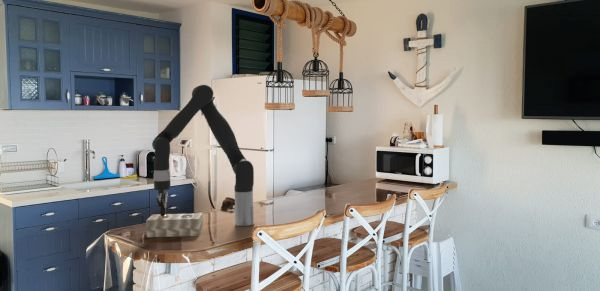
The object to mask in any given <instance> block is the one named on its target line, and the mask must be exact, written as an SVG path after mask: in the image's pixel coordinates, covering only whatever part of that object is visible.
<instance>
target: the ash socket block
mask: <svg viewBox="0 0 600 291" xmlns="http://www.w3.org/2000/svg"><path fill="white" fill-rule="evenodd" d="M166 214H167V215H168V218H159V215H160V214H159V213H158V214H151V216H149V217H148V218H147V219H146V221H145V222H146V224H145V226H146V227H145V228H146V238H165V237H170V238H171V237H197V236H198V237H200V235H201V233H202V231H203V229H204V228H203V227H204V225H203V213H202V212H201V213H197V212H196V213H166ZM182 216H191V217H187V218H182Z"/></svg>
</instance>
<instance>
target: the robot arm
mask: <svg viewBox="0 0 600 291" xmlns="http://www.w3.org/2000/svg"><path fill="white" fill-rule="evenodd" d="M213 98H214V90H213V88H212V87H211V86H210V85H207V84H199V85H198V86H195V88H193V90H192V91H191V98H190V100H189V101H188V102H187V104H186V105H185V106H184V107H183V108H181V110H180V111H179V112H178V113H176V115H174V117H173V118H172V119H171V120H170V121H169V123H168V124H167V125H166V126H165V127H164V129H163V130H162V131H161V132H159V134H157V135H156V136H155V137H154V139H153V140H152V143H151V145H152V148H153V150H154V153H155V154H154V156H155V158H154V160H153V189H154V191H158V193H157V198H156V202H157V205H158V208H160V209H159V210H160V212H159V213H160V215H161V216H165V215H166V214H167V213H166V212H167V209H166V208H167V206H168V200H169V199H168V198H169V194H168V193H169V192H167V191H169V190H170V189H171V172H170V155H171V154H170V153H171V144H170V143H172V141H173V140H174V139H176V138H178V137H179V135H180V134H181V133H182V132H183V130H184V129H185V128H186V127H187V126H188V124H189V123H190V122H191V121H192V120H193V118H194V117H195V116H196V115H197V114H198V112H199V111H200V112H201V114H202V115H203V117H204V118H205V121H206V123H207V125H208V127H209V128H210V130H211V133H212V134H213V136H214V138H215V140H216V142H217V143H218V145H219V147H220V148H221V149H222V150H223V152H224V153H225V156H226V157H227V159H228V161H229V163H230V166H231V169H232V171H233V173H234V175H235V185H234V199H235V206H234V219H235V226H236V227H248V226H254V223H255V221H254V220H255V219H254V218H255V217H254V214H255V213H254V184H255V183H254V180H255V178H254V177H255V176H254V172H255V170H254V165H253V164H252V162H251V161H249V160H247V158H246V157H245V156H244V154H243V153H242V151H241V150H240V147H239V145H238V142H237V138H236V135H235V132H234V131H233V129H232V128H231V125H230V124H229V122H228V120H227V119H226V118H225V117H224V116H223V115H222V114H221V112H220V111H219V110H218V109H217V107H216V105H215V103H214V101H213Z"/></svg>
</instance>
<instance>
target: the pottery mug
mask: <svg viewBox="0 0 600 291" xmlns="http://www.w3.org/2000/svg"><path fill="white" fill-rule="evenodd" d="M234 207H235V198H233V197H225V198H224V199H223V200H222V203H221V206H220V211H225V212H228V211H229V210H233V208H234ZM228 209H229V210H228Z"/></svg>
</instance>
